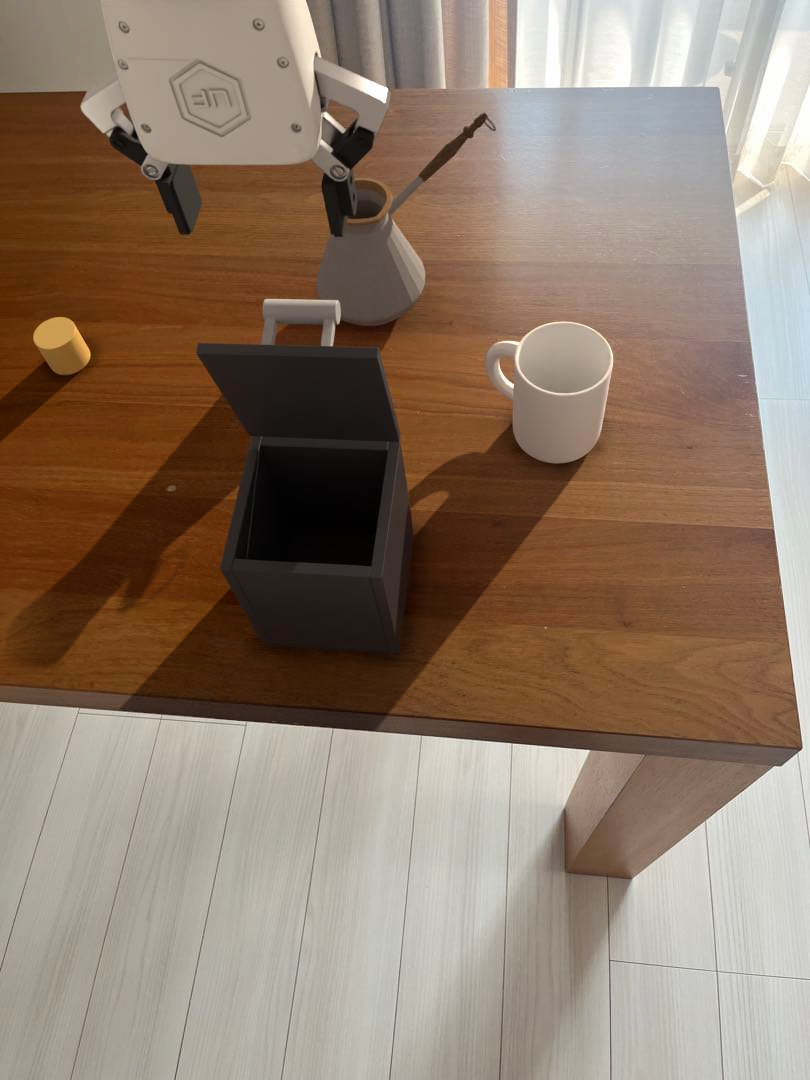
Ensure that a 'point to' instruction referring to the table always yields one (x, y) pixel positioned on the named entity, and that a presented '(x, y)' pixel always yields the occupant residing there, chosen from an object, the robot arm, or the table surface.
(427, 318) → the table surface
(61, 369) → the cylinder
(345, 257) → the coffee pot
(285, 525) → the dark grey storage bin
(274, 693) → the table surface
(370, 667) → the table surface
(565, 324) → the mug
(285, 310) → the chamber lid
